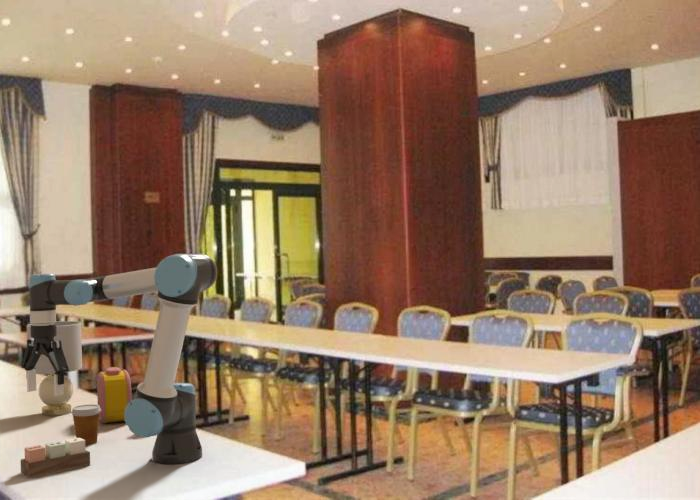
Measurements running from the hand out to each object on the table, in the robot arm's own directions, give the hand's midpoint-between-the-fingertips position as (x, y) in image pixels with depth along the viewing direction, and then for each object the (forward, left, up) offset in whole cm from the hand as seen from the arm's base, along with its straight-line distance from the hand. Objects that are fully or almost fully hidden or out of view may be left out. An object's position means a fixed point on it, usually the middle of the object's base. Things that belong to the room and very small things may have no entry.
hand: (45, 393), depth 242 cm
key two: (-10, +1, -18) cm, 21 cm away
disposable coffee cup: (+13, -18, -21) cm, 31 cm away
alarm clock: (+38, -39, -21) cm, 59 cm away
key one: (-10, -5, -18) cm, 21 cm away
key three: (-10, +7, -18) cm, 22 cm away
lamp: (+67, -28, -21) cm, 76 cm away
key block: (-10, +1, -21) cm, 23 cm away
